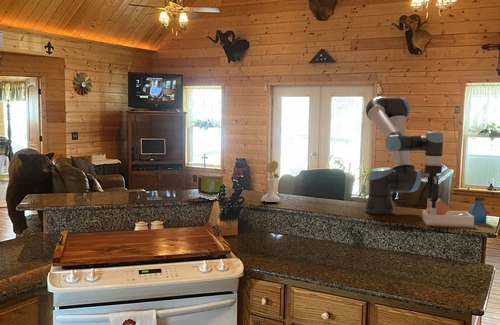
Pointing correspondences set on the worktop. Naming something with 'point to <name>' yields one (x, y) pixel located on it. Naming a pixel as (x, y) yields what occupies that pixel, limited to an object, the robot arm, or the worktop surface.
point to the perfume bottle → (478, 211)
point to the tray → (449, 219)
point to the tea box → (209, 184)
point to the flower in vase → (271, 183)
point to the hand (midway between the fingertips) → (431, 213)
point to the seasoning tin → (440, 208)
